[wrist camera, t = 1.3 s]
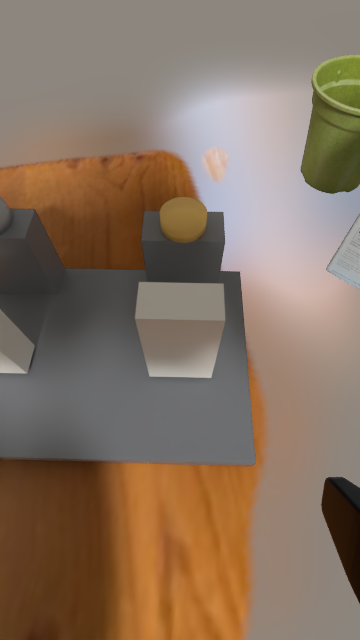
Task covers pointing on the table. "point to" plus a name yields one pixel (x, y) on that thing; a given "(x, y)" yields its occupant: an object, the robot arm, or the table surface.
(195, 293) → the tall white block
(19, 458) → the grey holder stand
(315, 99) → the plant pot
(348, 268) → the supplement box
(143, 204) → the table surface
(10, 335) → the cream upright block
